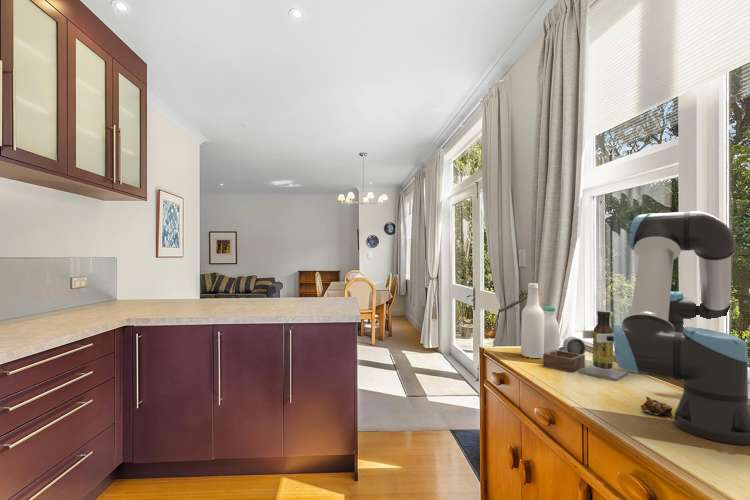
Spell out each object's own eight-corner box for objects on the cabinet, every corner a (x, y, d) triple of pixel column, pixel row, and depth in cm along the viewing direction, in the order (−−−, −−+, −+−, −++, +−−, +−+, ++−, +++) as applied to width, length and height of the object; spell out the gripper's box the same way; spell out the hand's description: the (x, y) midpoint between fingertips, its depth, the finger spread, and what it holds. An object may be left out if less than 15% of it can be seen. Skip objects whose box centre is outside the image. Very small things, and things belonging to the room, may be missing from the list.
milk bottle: (561, 354, 170) (562, 307, 170) (555, 357, 164) (555, 308, 164) (542, 351, 175) (543, 305, 175) (536, 354, 169) (536, 306, 170)
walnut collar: (573, 372, 143) (573, 359, 143) (543, 366, 151) (543, 354, 151) (584, 367, 150) (584, 355, 150) (555, 361, 158) (555, 349, 158)
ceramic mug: (580, 353, 173) (580, 335, 173) (586, 357, 165) (586, 338, 165) (554, 352, 175) (553, 334, 175) (558, 356, 167) (558, 337, 167)
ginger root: (666, 406, 112) (666, 393, 112) (676, 421, 101) (676, 407, 101) (637, 401, 115) (637, 389, 115) (643, 416, 104) (643, 402, 105)
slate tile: (616, 381, 133) (616, 378, 133) (578, 373, 142) (578, 370, 142) (627, 374, 141) (627, 372, 141) (590, 367, 150) (590, 365, 150)
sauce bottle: (588, 365, 144) (588, 309, 144) (601, 364, 146) (601, 309, 146) (604, 370, 138) (604, 312, 138) (617, 368, 140) (617, 311, 140)
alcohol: (517, 356, 165) (518, 283, 166) (525, 352, 172) (526, 282, 172) (539, 360, 159) (540, 284, 160) (547, 356, 166) (547, 283, 167)
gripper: (671, 351, 136) (610, 353, 132) (626, 340, 154) (572, 341, 150) (671, 329, 136) (610, 330, 132) (626, 320, 154) (572, 321, 150)
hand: (590, 336), depth 141 cm, fingers closed on sauce bottle, 6 cm apart
